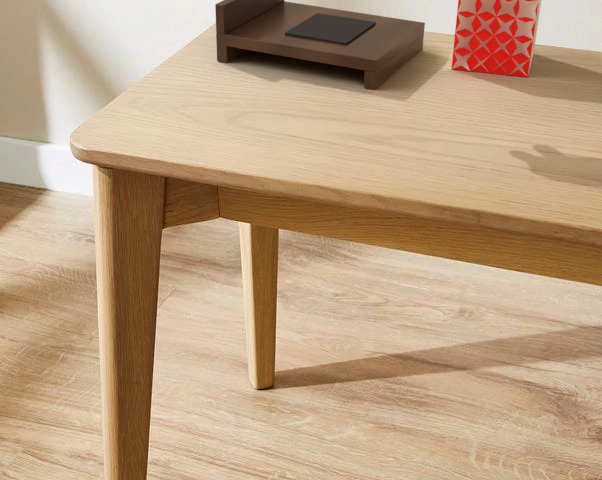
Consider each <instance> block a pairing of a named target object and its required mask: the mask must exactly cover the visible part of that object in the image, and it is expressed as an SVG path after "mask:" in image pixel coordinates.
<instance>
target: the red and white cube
mask: <svg viewBox="0 0 602 480" xmlns="http://www.w3.org/2000/svg"><path fill="white" fill-rule="evenodd" d="M541 5H542V0H457V11H456V21H455V31H454V40H453V49H452V62H451V70H456V71H466V72H474V73H475V72H476V73H486V74H494V75H504V76H513V77H524V78H529V74H530V70H531V66H532V62H533V57H534V53H535V46H536V40H537V33H538V28H539V27H538V26H539V19H540V13H541Z"/></svg>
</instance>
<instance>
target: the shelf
mask: <svg viewBox="0 0 602 480" xmlns="http://www.w3.org/2000/svg"><path fill="white" fill-rule="evenodd" d="M214 6H215V9H214V10H215V32H216V33H215V38H216V43H215V44H216V61H217V62H220V63H226V64H227V63H229V62H230V61H232V60H234V59H236V58H237V57H239V56H240V55H242V54H244V53H246V52H247V51H251V52H258V53H264V54H269V55H274V56H280V57H286V58H293V59H296V60H297V59H298V60H303V61H310V62H315V63H319V64H320V63H321V64H327V65H332V66H337V67H343V68H349V69H355V70H361V71H364V76H363V77H364V78H363V88H364V89H368V90H377V88H379V87H380V86H382V84H383V83H385V82H386V81H388V79H389V78H390V77H392V76H393V75H394V74H395V73H397V71H399V70H400V69H401V68H403V66H405V65H406V64H407V63H409V62H410V61H411V60H412V59H413V58H414V57H416V56H417V55H418V54H419V53H421V52H422V51H423V49H424V36H425V27H426V26H425V25H426V23H425V22H422V21H416V20H410V19H404V18H397V17H390V16H383V15H377V14H370V13H363V12H358V11H352V10H351V11H350V10H343V9H338V8H330V7H324V6H319V5H311V4H305V3H300V2H299V3H298V2H292V1H285V0H222V1H218V2H217V3H215V4H214Z"/></svg>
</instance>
